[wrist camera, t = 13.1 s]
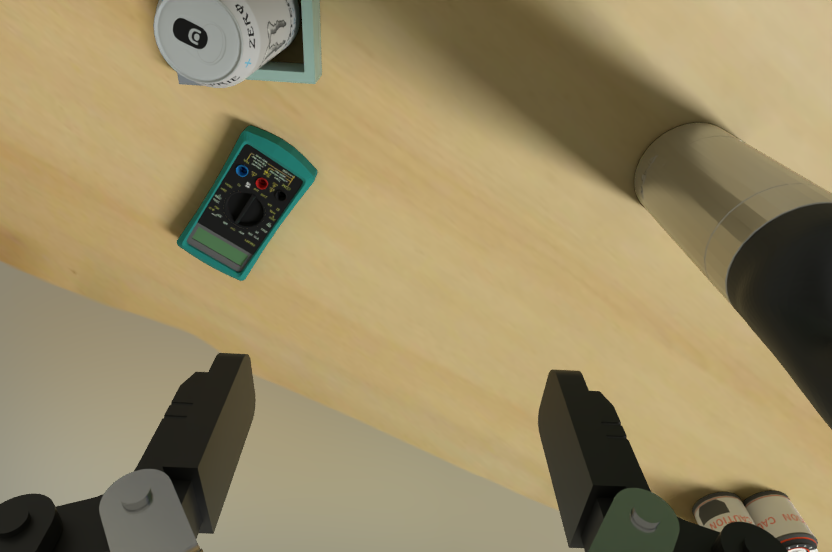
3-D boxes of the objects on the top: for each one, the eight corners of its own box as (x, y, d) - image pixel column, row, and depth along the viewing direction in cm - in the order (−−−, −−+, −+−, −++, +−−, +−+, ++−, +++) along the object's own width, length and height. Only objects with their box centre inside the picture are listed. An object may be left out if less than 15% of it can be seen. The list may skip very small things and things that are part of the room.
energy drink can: (287, 65, 44) (235, 112, 31) (216, 29, 42) (132, 63, 30) (313, -8, 41) (268, 12, 28) (238, -49, 39) (155, -48, 27)
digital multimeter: (323, 164, 49) (318, 176, 46) (248, 272, 55) (240, 287, 53) (253, 116, 47) (244, 125, 44) (182, 234, 53) (171, 248, 50)
